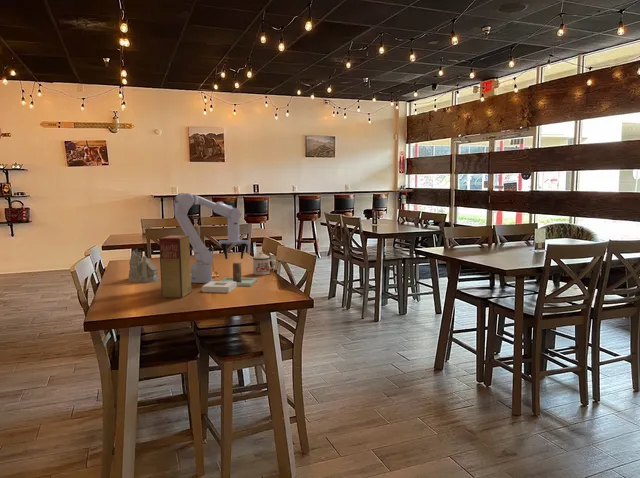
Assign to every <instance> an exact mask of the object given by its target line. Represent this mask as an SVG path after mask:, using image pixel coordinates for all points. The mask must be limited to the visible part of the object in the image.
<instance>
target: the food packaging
mask: <svg viewBox="0 0 640 478" xmlns="http://www.w3.org/2000/svg"><path fill="white" fill-rule="evenodd" d="M158 241H159V262H160V263H159V265H160V268H159V269H160V284H161V285H160V288H161V291H160V292H161V299H183V298H184V297H186V296H187V295H189V294H190V293H192V283H191V254H190V253H191V250H190V249H191V247H190V242H189V235H185V234H182V235H181V234H172V235H167V236H163V237H161V238H159V239H158Z"/></svg>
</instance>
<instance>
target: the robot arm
mask: <svg viewBox="0 0 640 478" xmlns="http://www.w3.org/2000/svg"><path fill="white" fill-rule="evenodd" d="M173 204H174V208H173V209H174V217H175V219H176V221H177V222H178V225H179V226H180V228H181V229H182V231H183V233H184V235H189V244H190V245H191V247H192V251H193V253H194V258H195V260H196V262H195V263H192V264H191V265H190V270H191V284H192V283H193V284H194V283H195V284H198V283H199V284H200V283H201V284H202V283H203V284H207V283H209V282H210V281H216V280H215V278H213V266H212V264H213V263H212V262H213V260H214V253H213V252H212V251H211V250H209V248H207V246H206V244H204V243H203V241H202V239H201V237H200V236H199V233H198V232H197V231H196V229H195V227H194V225H193V224H192V221H191V220H190V218H189V216H188V214H189V213H188V212H189V210H190V208H192V207H193V206H194V205H200V206H203V207H206V208H208V209H211V210H213V212H214V213H215V214H217V215H220V216H222V217H225V218H226V219H227V239H224V240H221V239H220V240H219V241H218V245H219V246H220V247H221V249H222V251H223V254H224V259H225V260H228V245H240V260H243V259H244V254H245V249H246V248H247V245H249V239H247V240H246V239H240V218H241V216H242V213H241V210H240V209H239V208H237V207H233V205H231V204H230V205H229V204H226V203H224V201H217V202H214V201H212V200H210V199H209V200H208V199H206V198H204V197H202V196H200V195H196V194H192V193H189V192H187V193H185V192H180V193H178V194H176V196H175V198H174V200H173Z"/></svg>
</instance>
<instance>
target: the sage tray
mask: <svg viewBox="0 0 640 478" xmlns="http://www.w3.org/2000/svg"><path fill="white" fill-rule="evenodd" d="M241 279H242V282H241V283H240V282H237V287H252V286H253V285H254V284H255V283H257V281H258V278H257V277H241ZM219 281H233V277H226V276H225V277H224V278H222V279H220V280H219Z"/></svg>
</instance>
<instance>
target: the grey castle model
mask: <svg viewBox="0 0 640 478" xmlns="http://www.w3.org/2000/svg"><path fill="white" fill-rule="evenodd" d="M135 252H136V251H132V252H131V255H130V260H129V263H128V264H129V271H128V278H127V279H128V280H127V282H130V283H142V284H143V283H146V284H148V283H155V282H156V283H157V282H158V281H160V277H159V276H158V271H157V270H158V267H157V266H155V264H154V263H153V262H152V260H151V259H150V258H149V259H148V257H147V256H146V255H143V256H142V257H141V256H140V255H137V253H135Z"/></svg>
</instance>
